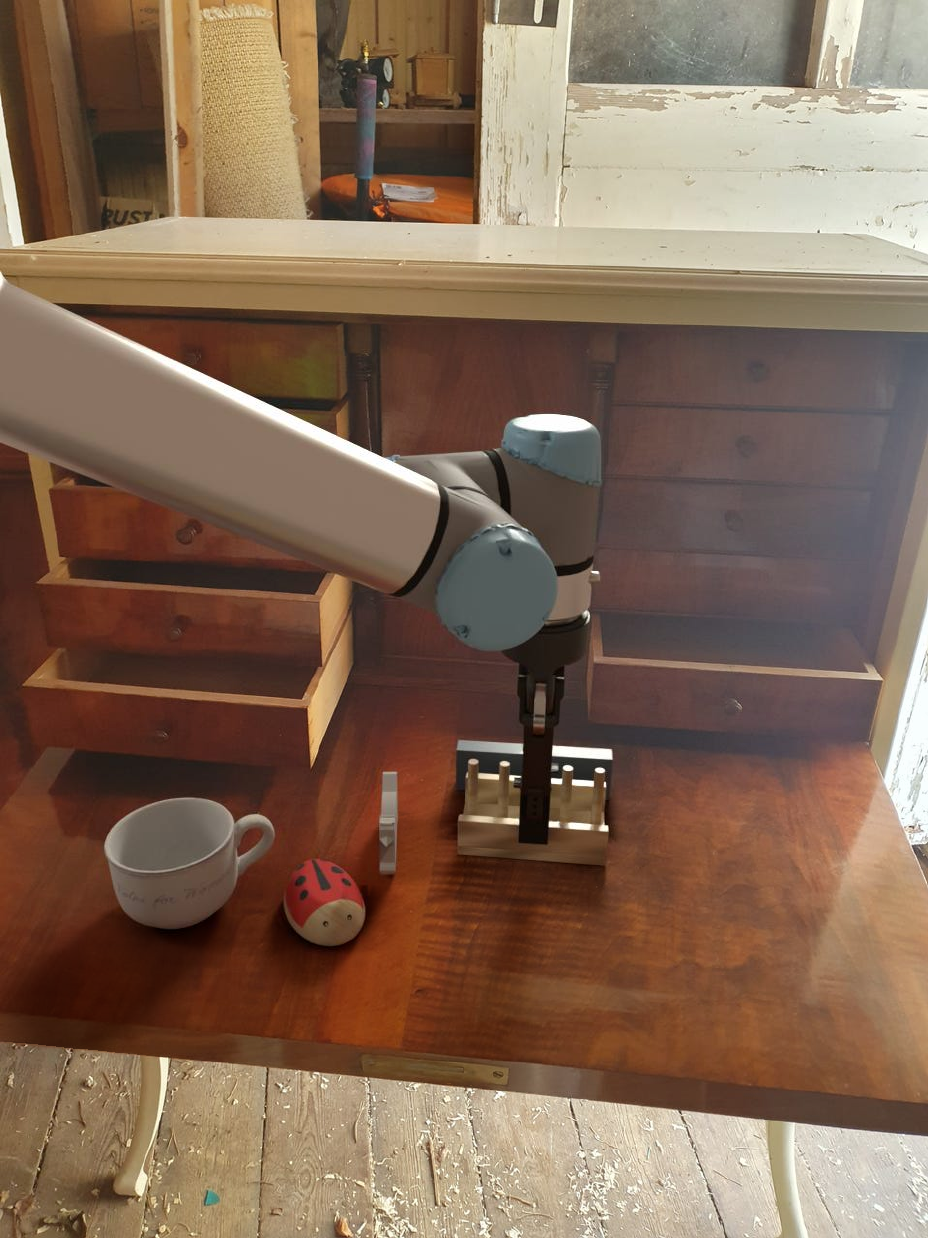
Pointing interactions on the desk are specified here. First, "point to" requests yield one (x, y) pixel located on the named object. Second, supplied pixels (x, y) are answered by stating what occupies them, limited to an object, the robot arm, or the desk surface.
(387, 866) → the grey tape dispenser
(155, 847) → the teacup
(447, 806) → the desk surface
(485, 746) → the back rail
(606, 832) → the rack
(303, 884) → the ladybug figurine
